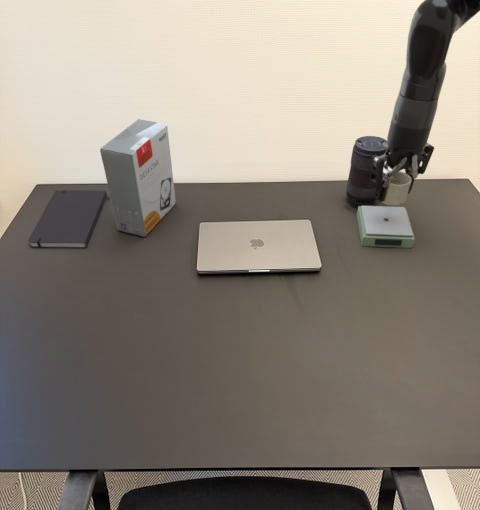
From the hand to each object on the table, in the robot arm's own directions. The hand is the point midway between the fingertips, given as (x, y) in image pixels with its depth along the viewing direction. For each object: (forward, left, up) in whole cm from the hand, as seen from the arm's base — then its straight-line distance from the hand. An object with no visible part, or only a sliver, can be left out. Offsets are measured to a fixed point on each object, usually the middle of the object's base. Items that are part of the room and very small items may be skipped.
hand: (392, 196), depth 101 cm
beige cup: (0, 0, -1) cm, 1 cm away
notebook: (+73, +1, -9) cm, 74 cm away
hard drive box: (+55, -2, -9) cm, 56 cm away
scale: (0, 0, -9) cm, 9 cm away
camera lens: (+4, -12, -9) cm, 16 cm away
